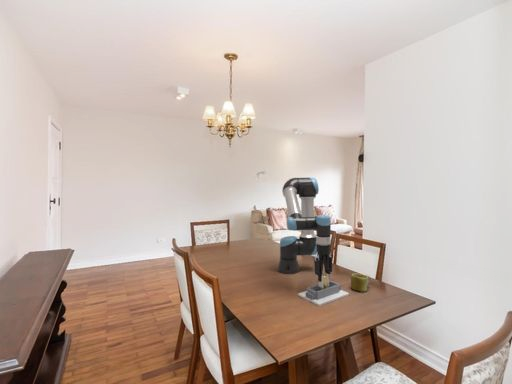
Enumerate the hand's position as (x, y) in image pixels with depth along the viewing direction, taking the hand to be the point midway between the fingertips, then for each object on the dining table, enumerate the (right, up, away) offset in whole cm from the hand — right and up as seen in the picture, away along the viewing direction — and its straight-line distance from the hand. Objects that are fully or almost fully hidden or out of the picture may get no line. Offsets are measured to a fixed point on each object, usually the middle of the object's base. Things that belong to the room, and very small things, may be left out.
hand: (323, 286), depth 153 cm
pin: (0, -2, 0) cm, 2 cm away
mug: (+24, -5, +8) cm, 26 cm away
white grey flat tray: (0, -5, 0) cm, 5 cm away
